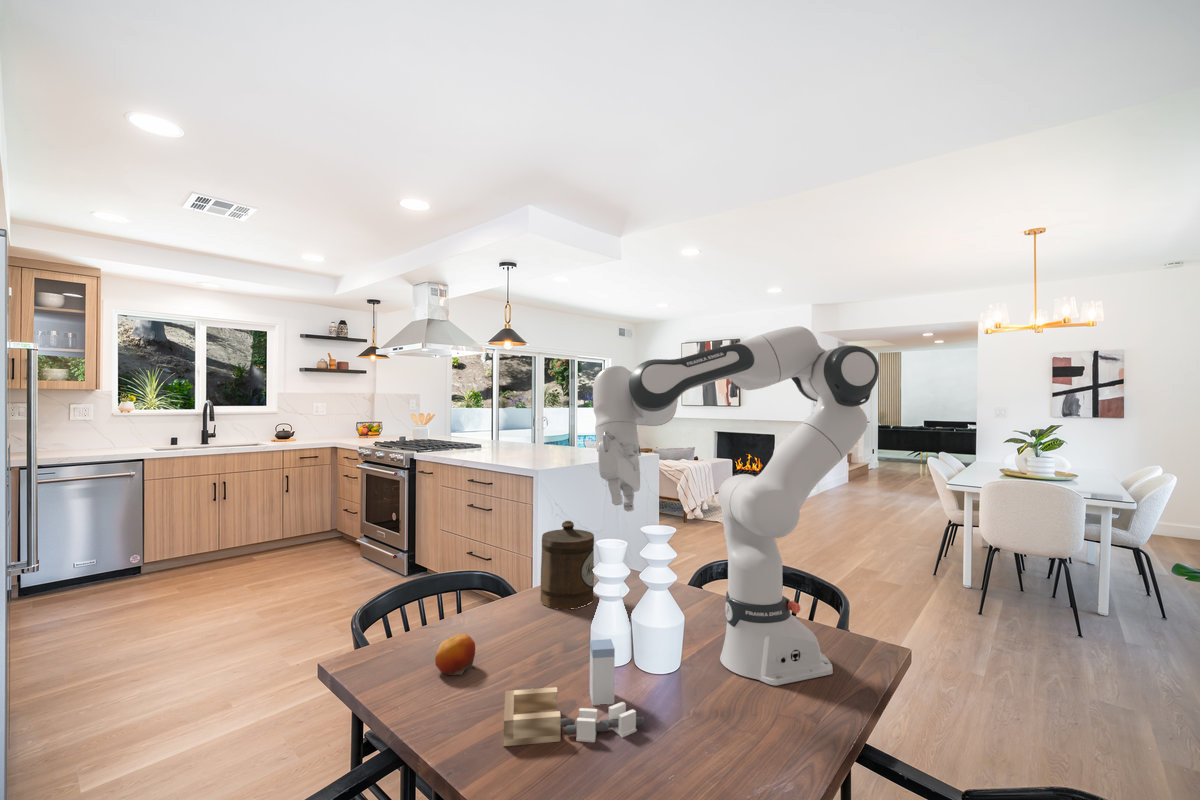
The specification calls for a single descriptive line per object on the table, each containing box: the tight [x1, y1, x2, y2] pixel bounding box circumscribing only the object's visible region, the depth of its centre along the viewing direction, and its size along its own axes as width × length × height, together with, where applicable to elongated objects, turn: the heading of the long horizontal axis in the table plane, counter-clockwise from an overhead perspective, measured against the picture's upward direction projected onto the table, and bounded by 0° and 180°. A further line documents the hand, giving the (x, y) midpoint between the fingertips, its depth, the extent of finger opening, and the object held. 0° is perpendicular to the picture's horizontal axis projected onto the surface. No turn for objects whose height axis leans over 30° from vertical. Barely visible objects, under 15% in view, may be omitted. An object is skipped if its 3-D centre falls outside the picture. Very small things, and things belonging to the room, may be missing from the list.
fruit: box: [434, 633, 476, 676], centre depth 109 cm, size 8×8×8 cm
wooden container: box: [540, 520, 595, 610], centre depth 149 cm, size 15×15×22 cm
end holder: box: [503, 686, 562, 747], centre depth 90 cm, size 9×9×4 cm
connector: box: [589, 638, 616, 706], centre depth 99 cm, size 4×4×10 cm
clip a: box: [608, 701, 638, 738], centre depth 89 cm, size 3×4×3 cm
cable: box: [560, 716, 646, 735], centre depth 89 cm, size 16×3×1 cm, turn 98°
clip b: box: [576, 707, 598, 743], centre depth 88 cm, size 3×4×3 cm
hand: (623, 508), depth 107 cm, fingers open, 8 cm apart
